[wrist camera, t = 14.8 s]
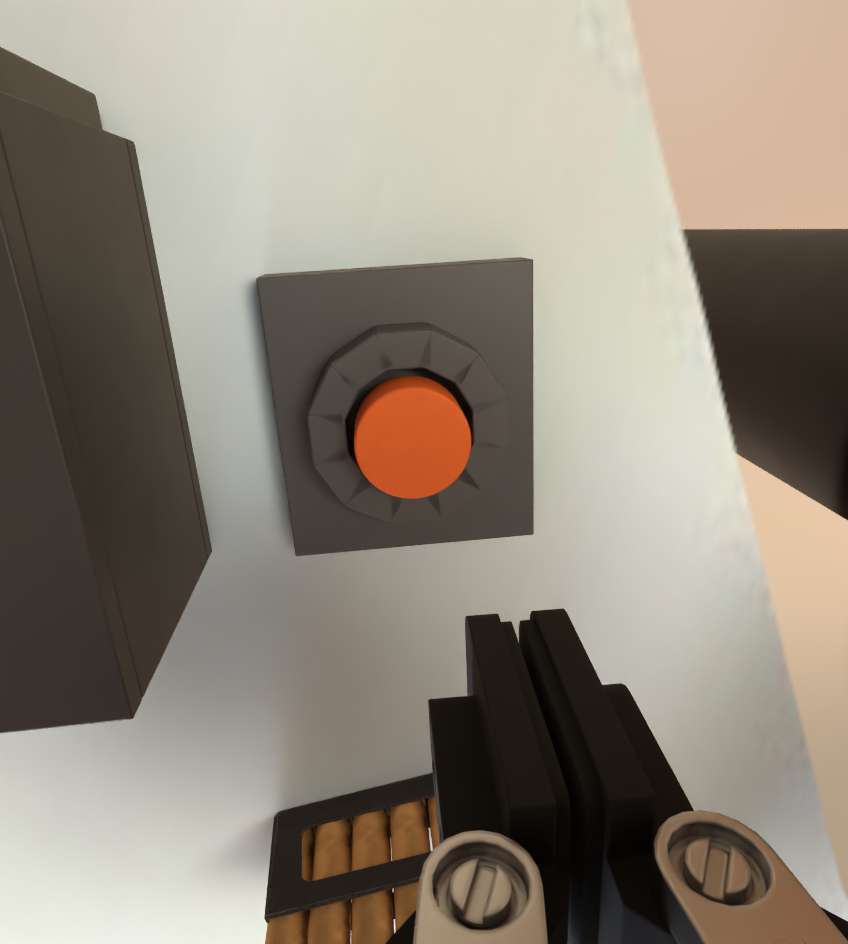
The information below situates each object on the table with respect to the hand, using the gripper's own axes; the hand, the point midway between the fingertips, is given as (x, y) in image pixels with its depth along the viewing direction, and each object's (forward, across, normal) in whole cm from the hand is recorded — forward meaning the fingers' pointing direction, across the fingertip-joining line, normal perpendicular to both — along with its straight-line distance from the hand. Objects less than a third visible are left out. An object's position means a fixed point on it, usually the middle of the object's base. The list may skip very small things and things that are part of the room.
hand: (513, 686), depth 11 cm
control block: (+15, +1, -1) cm, 15 cm away
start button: (+12, +1, -1) cm, 12 cm away
